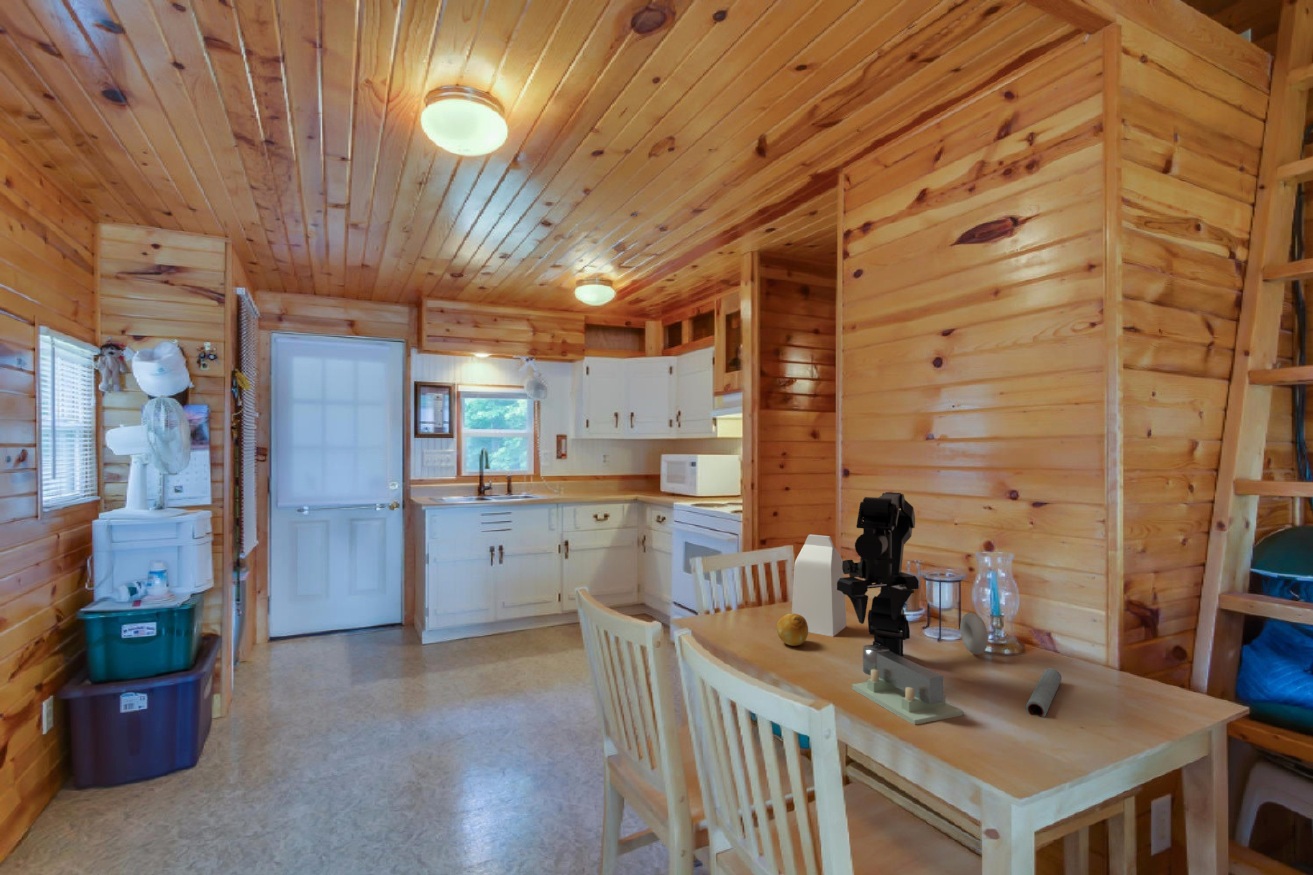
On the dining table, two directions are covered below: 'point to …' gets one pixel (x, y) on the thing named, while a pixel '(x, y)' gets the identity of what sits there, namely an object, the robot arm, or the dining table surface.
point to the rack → (904, 701)
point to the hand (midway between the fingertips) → (877, 621)
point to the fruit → (792, 629)
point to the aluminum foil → (1044, 692)
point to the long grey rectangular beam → (903, 673)
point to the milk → (819, 586)
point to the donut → (974, 633)
